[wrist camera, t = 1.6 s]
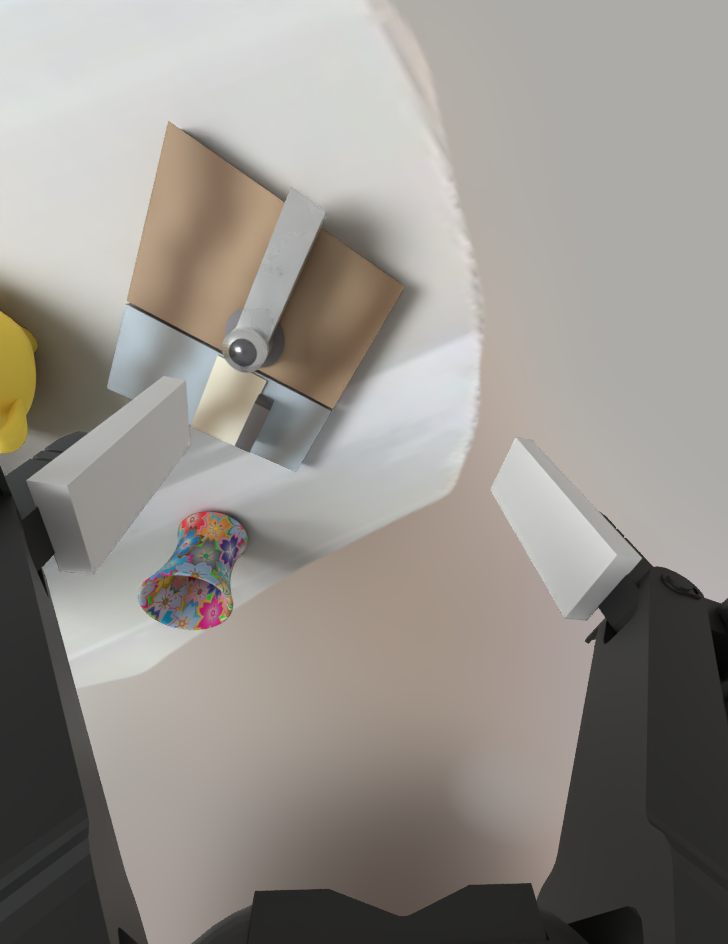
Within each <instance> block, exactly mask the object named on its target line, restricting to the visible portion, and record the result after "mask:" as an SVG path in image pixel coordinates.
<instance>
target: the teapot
mask: <svg viewBox="0 0 728 944" xmlns="http://www.w3.org/2000/svg"><path fill="white" fill-rule="evenodd" d="M37 348H38V344H37V340H36V339H35V337H34V336H33V334H32V333H31V332H30V331H28V330H27V329H25V328H24V327H21V326H19V325H18V324H17V323H16V322H14V321H13V320H12V319H11V318H10V317H8V316H7V315H5V314H4V313H2V312H1V311H0V453H11V452H14V451H16V450H18V449H19V448H20V447H21V446H22V445H23V444H24V442H25V440H26V438H27V433H28V426H27V418H26V415H27V413H28V411H29V409H30V407H31V405H32V402H33V399H34V394H35V388H36V365H35V358H34V352H36V350H37Z"/></svg>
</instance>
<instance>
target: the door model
mask: <svg viewBox="0 0 728 944" xmlns="http://www.w3.org/2000/svg"><path fill="white" fill-rule="evenodd" d="M284 203H285V202H283V201H282V200H281V199H279V198H278V197H276V196H275V195H273V194H272V193H271V192H269V191H268V190H266V189H265V188H263V187H262V186H261V185H259V184H258V183H256V182H255V181H253V180H252V179H251V178H249V177H248V176H246V175H245V174H244V173H242V172H241V171H239V170H238V169H236V168H235V167H234V166H232V165H231V164H229V163H228V162H226V161H225V160H224V159H222V158H221V157H219V156H218V155H216V154H215V153H214V152H212V151H211V150H209V149H208V148H206V147H205V146H204V145H202V144H201V143H199V142H198V141H197V140H195V139H194V138H192V137H191V136H189V135H188V134H187V133H185V132H184V131H182V130H181V129H179V128H178V127H176V126H175V125H174V124H172V123H171V122H169V121H168V125H167V129H166V134H165V138H164V142H163V147H162V151H161V155H160V159H159V164H158V168H157V172H156V177H155V181H154V185H153V190H152V194H151V198H150V203H149V207H148V211H147V216H146V220H145V224H144V229H143V233H142V237H141V242H140V246H139V250H138V255H137V259H136V263H135V268H134V272H133V276H132V281H131V285H130V289H129V294H128V298H127V301H128V302H130V303H129V304H126V307H125V311H124V315H123V320H122V324H121V328H120V333H119V337H118V341H117V346H116V350H115V354H114V358H113V363H112V367H111V371H110V376H109V380H108V384H107V389H109V390H112V391H114V392H116V393H118V394H121V395H123V396H125V397H128V398H130V399H132V400H133V399H134V398H135V397H137V396H138V395H139V394H141V393H142V392H143V391H145V390H146V389H147V388H149V387H150V386H151V385H152V384H154V383H155V382H156V381H158V380H159V379H160V378H162V377H163V376H167V377H172V378H178V379H184V380H186V387H187V402H188V417H189V425H191V427H193V428H195V429H197V430H199V431H202V432H204V433H206V434H208V435H211V436H213V437H215V438H218V439H220V440H222V441H224V442H227V443H229V444H231V445H233V446H236V447H238V448H240V449H243V450H245V451H247V452H249V453H250V452H252V453H254V454H256V455H259V456H261V457H263V458H265V459H268V460H270V461H272V462H274V463H277V464H279V465H281V466H283V467H286V468H288V469H290V470H293V471H295V472H296V471H297V469H298V468H299V466H300V464H301V462H302V461H303V459H304V457H305V456H306V454H307V452H308V451H309V449H310V447H311V445H312V444H313V442H314V440H315V439H316V437H317V435H318V434H319V432H320V430H321V428H322V427H323V425H324V423H325V422H326V420H327V418H328V417H329V415H330V413H331V411H332V409H333V408H334V406H335V405H336V403H337V401H338V400H339V398H340V396H341V394H342V393H343V391H344V389H345V388H346V386H347V384H348V383H349V381H350V379H351V377H352V376H353V374H354V372H355V371H356V369H357V367H358V366H359V364H360V362H361V360H362V359H363V357H364V355H365V354H366V352H367V350H368V349H369V347H370V345H371V343H372V342H373V340H374V338H375V337H376V335H377V333H378V332H379V330H380V328H381V326H382V325H383V323H384V321H385V320H386V318H387V316H388V314H389V313H390V311H391V309H392V308H393V306H394V304H395V303H396V301H397V299H398V297H399V296H400V294H401V292H402V291H403V289H404V286H403V285H402V284H400V283H399V282H397V281H396V280H394V279H393V278H392V277H390V276H389V275H387V274H386V273H385V272H383V271H382V270H380V269H379V268H377V267H376V266H375V265H373V264H372V263H370V262H369V261H367V260H366V259H365V258H363V257H362V256H360V255H359V254H357V253H356V252H355V251H353V250H352V249H350V248H349V247H347V246H346V245H345V244H343V243H342V242H340V241H339V240H338V239H336V238H335V237H333V236H332V235H330V234H329V233H328V232H326V231H325V230H323V229H322V228H321V229H320V231H319V234H318V236H317V238H316V240H315V243H314V245H313V247H312V249H311V252H310V254H309V256H308V258H307V261H306V263H305V265H304V267H303V270H302V272H301V274H300V276H299V279H298V281H297V283H296V285H295V288H294V290H293V292H292V294H291V297H290V299H289V301H288V303H287V306H286V308H285V310H284V312H283V315H282V317H281V319H280V321H279V324H278V326H277V328H276V330H275V332H274V335H273V347H272V350H271V352H270V353H269V355H268V356H267V358H266V360H265V361H264V363H263V364H262V366H261V367H260V368H259V369H258V370H256V371H254V372H250V373H244V372H240V371H237V370H235V369H234V368H232V367H231V366H230V365H229V364H228V363H227V361H226V360H225V358H224V356H223V352H222V343H223V340H224V338H225V337H226V336H227V335H228V334H229V333H230V332H231V331H232V330H233V329H235V328H236V327H237V324H238V321H239V319H240V316H241V314H242V311H243V309H244V306H245V303H246V301H247V298H248V296H249V293H250V291H251V288H252V285H253V283H254V280H255V278H256V275H257V273H258V270H259V267H260V265H261V262H262V260H263V257H264V255H265V252H266V249H267V247H268V244H269V242H270V239H271V237H272V234H273V232H274V229H275V226H276V224H277V221H278V219H279V216H280V214H281V211H282V208H283V206H284Z"/></svg>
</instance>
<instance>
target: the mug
mask: <svg viewBox="0 0 728 944" xmlns="http://www.w3.org/2000/svg"><path fill="white" fill-rule="evenodd" d="M247 546H248V536H247V533H246V531H245V529H244V528H243V527H242V525H241V524H240V523H239V522H237V521H236V520H235V519H233V518H231V517H229V516H227V515H225V514H222V513H217V512H199V513H195V514H192V515H190V516H188V517H187V518H186V519H184V520H183V521H182V523H181V524H180V526H179V528H178V545H177V548H176V550H175V552H174V554H173V555H172V557H171V558H170V560H169V561H168V562H167V563H166V564H165V565H164V566H163V567H162V568H161V569H160V570H159V571H158V572H156V573H155V574H154V575H152V576H151V577H149V578H148V579H147V580H145V581H144V582H143V584H142V585H141V587H140V589H139V591H138V600H139V603H140V605H141V607H142V608H143V610H144V611H145V612H146V613H147V614H148V615H149V616H151V617H152V618H153V619H155V620H157V621H158V622H161V623H163V624H165V625H168V626H171V627H175V628H179V629H187V630H201V629H207V628H211V627H214V626H217V625H219V624H221V623H222V622H224V621H225V620H226V619H227V618H228V617H229V616H230V614H231V612H232V609H233V600H232V596H231V589H230V579H231V573H232V569H233V566H234V564H235V562H236V560H237V559H238V558H239V557H240V556H241V555H242V554H243V553H244V552H245V550H246V549H247Z"/></svg>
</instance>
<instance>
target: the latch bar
mask: <svg viewBox="0 0 728 944" xmlns="http://www.w3.org/2000/svg"><path fill="white" fill-rule="evenodd" d="M326 216H327V212H326V211H325V210H323V209H322V208H321V207H319V206H318V205H317V204H315V203H314V202H312V201H311V200H310V199H308V198H307V197H305V196H304V195H303V194H301V193H300V192H299V191H297V190H296V189H294V188H293V187H292V186H291V188H290V190H289V193H288V196H287V198H286V201H285V203H284V206H283V208H282V211H281V214H280V216H279V219H278V221H277V224H276V226H275V229H274V232H273V234H272V237H271V239H270V242H269V244H268V247H267V249H266V252H265V255H264V257H263V260H262V262H261V265H260V267H259V270H258V273H257V275H256V278H255V280H254V283H253V285H252V288H251V291H250V293H249V296H248V298H247V301H246V303H245V306H244V309H243V311H242V314H241V316H240V319H239V321H238V324H237V327H236V328H235V329H233V330H232V331H231V332H230V333H229V334H228V335H227V336H226V337H225V338H224V340H223V343H222V352H223V356H224V358H225V360H226V361H227V363H228V364H229V365H230V366H231V367H232V368H234V369H235V370H237V371H240V372H244V373H250V372H254V371H256V370H258V369H259V368H260V367H261V366H262V364H263V363H264V361H265V360H266V358H267V356H268V355H269V353H270V352H271V350H272V347H273V335H274V332H275V330H276V328H277V326H278V324H279V321H280V319H281V317H282V315H283V312H284V310H285V308H286V306H287V303H288V301H289V299H290V297H291V294H292V292H293V290H294V288H295V285H296V283H297V281H298V279H299V276H300V274H301V272H302V270H303V267H304V265H305V263H306V261H307V258H308V256H309V254H310V252H311V249H312V247H313V245H314V243H315V240H316V238H317V236H318V234H319V231H320V229H321V227H322V225H323V222H324V220H325V218H326Z"/></svg>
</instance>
